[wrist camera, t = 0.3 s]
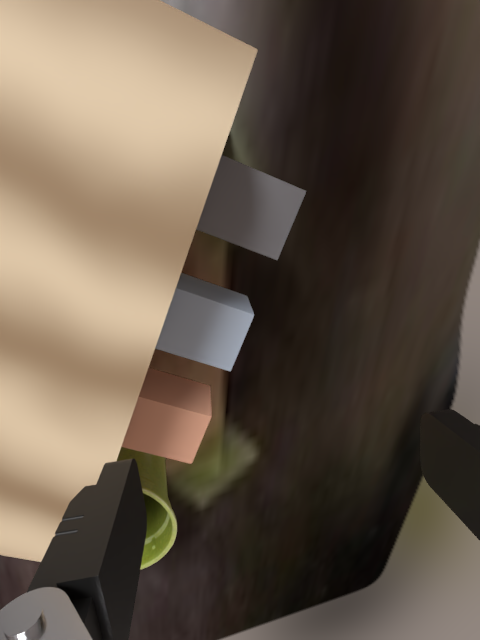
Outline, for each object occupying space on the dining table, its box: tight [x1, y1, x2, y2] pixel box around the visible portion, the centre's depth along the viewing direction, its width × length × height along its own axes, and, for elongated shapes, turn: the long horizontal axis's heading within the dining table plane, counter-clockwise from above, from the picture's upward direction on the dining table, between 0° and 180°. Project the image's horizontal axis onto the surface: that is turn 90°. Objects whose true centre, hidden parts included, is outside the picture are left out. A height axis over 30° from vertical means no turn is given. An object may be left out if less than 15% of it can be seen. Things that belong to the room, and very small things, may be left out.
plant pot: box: [117, 447, 177, 570], centre depth 33 cm, size 9×9×9 cm
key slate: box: [155, 273, 254, 372], centre depth 24 cm, size 4×6×4 cm, turn 69°
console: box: [0, 0, 258, 562], centre depth 23 cm, size 25×9×16 cm, turn 159°
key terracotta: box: [121, 368, 212, 464], centre depth 26 cm, size 4×6×4 cm, turn 69°
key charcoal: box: [196, 155, 306, 260], centre depth 22 cm, size 4×6×4 cm, turn 69°
